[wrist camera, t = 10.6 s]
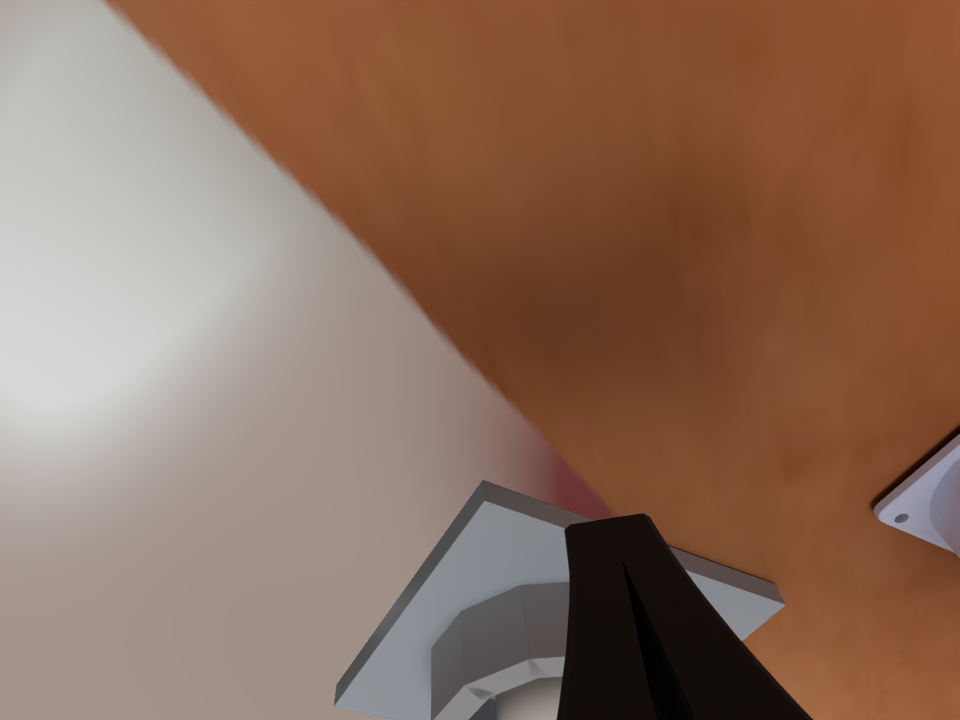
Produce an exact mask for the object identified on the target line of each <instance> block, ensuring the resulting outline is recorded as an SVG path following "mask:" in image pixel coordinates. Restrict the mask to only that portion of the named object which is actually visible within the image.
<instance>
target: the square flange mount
mask: <svg viewBox="0 0 960 720" xmlns="http://www.w3.org/2000/svg"><path fill="white" fill-rule="evenodd" d="M589 521H596V520H593V519H591V518H588V517H585V516H582V515H580V514H577V513H574V512H571V511H568V510H565V509H563V508H560V507H557V506H554V505H551V504H549V503H546V502H543V501H540V500H537V499H535V498H532V497H529V496H526V495H523V494H520V493H517V492H515V491H512V490H509V489H507V488H503V487H501V486H498V485H495V484H492V483H490V482H487V481H484V480H483V481H482V482H481V483H480V485H479V486H478V488H477V489H476V490H475V492H474V493H473V495H472V496H471V497H470V499H469V500H468V501H467V503H466V504H465V506H464V507H463V508H462V510H461V511H460V513H459V514H458V516H457V517H456V518H455V520H454V521H453V523H452V524H451V525H450V527H449V528H448V530H447V531H446V532H445V534H444V535H443V536H442V538H441V539H440V541H439V542H438V544H437V545H436V546H435V548H434V549H433V551H432V552H431V553H430V555H429V556H428V558H427V559H426V560H425V562H424V563H423V565H422V566H421V567H420V569H419V570H418V572H417V573H416V574H415V576H414V577H413V579H412V580H411V581H410V583H409V584H408V586H407V587H406V588H405V590H404V591H403V593H402V594H401V595H400V597H399V598H398V600H397V601H396V602H395V604H394V605H393V607H392V608H391V609H390V611H389V612H388V614H387V615H386V616H385V618H384V619H383V621H382V622H381V623H380V625H379V626H378V628H377V629H376V630H375V632H374V633H373V635H372V636H371V638H370V639H369V640H368V642H367V643H366V644H365V646H364V647H363V649H362V650H361V651H360V653H359V654H358V656H357V657H356V659H355V660H354V661H353V663H352V664H351V666H350V667H349V668H348V670H347V671H346V673H345V674H344V675H343V677H342V678H341V679H340V681H339V682H338V684H337V686H336V694H335V701H334V707H337V708H342V709H346V710H351V711H356V712H360V713H365V714H369V715H374V716H379V717H384V718H388V719H393V720H497V715H496V702H495V695H497V694H499V693H502V692H504V691H507V690H509V689H512V688H515V687H517V686H520V685H522V684H525V683H527V682H530V681H532V680H535V679H537V678H547V677H561V676H563V669H564V662H565V653H566V641H567V627H568V612H569V567H568V559H567V550H566V541H565V533H564V530H565V529H566V528H567V527H568V526H569V525H570V524H576V523H582V522H589ZM669 548H670V549H671V551H672V552H673V554H674V555H675V557H676V558H677V559H678V561H679V562H680V564H681V565H682V566H683V568H684V569H685V571H686V572H687V573H688V575H689V576H690V577H691V579H692V580H693V581H694V583H695V584H696V585H697V587H698V588H699V589H700V591H701V592H702V593H703V594H704V596H705V597H706V598H707V600H708V601H709V602H710V603H711V605H712V606H713V607H714V608H715V610H716V611H717V612H718V613H719V614H720V616H721V617H722V618H723V619H724V621H725V622H726V623H727V624H728V626H729V627H730V628H731V629H732V630H733V632H734V633H735V634H736V635H737V637H738V638H739V639H740V640H741V641H743V640H744V639H745V638H746V637H748V636H749V635H750V634H751V633H752V632H754V631H755V630H756V629H757V628H758V627H760V626H761V625H762V624H763V623H765V622H766V621H767V620H768V619H769V618H771V617H772V616H773V615H774V614H775V613H777V612H778V611H779V610H780V609H781V608H783V607H784V606H785V605H786V604H785V602H784V600H783V598H782V596H781V595H780V593H779V591H778V589H777V587H776V585H775V584H773V583H770V582H768V581H765V580H762V579H759V578H756V577H754V576H751V575H748V574H745V573H742V572H740V571H737V570H734V569H731V568H728V567H726V566H723V565H720V564H717V563H714V562H711V561H709V560H706V559H703V558H700V557H697V556H695V555H692V554H689V553H686V552H683V551H681V550H678V549H675V548H672V547H669Z"/></svg>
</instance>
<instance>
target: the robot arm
mask: <svg viewBox="0 0 960 720" xmlns="http://www.w3.org/2000/svg"><path fill="white" fill-rule="evenodd" d="M874 514H875V515H876V517H877V518H878V519H879V520H880V521H881V522H883V523H885V524H888V525H890V526H892V527H895V528H897V529H899V530H902V531H904V532H906V533H909V534H911V535H913V536H916V537H918V538H920V539H923V540H925V541H928V542H930V543H932V544H935V545H937V546H939V547H942V548H944V549H946V550H949V551H951V552H953V553H956V555H957V556H958V557H959V558H960V434H958V435H957V436H956V437H955V438H954V439H953V440H951V441H950V442H949V443H948V444H947V445H946V446H944V447H943V448H942V449H941V450H940V451H939V452H937V453H936V454H935V455H934V456H933V457H932V458H930V459H929V460H928V461H927V462H926V463H924V464H923V465H922V466H921V467H920V468H919V469H917V470H916V471H915V472H914V473H913V474H912V475H910V476H909V477H908V478H907V479H906V480H905V481H903V482H902V483H901V484H900V485H899V486H898V487H896V488H895V489H894V490H893V491H892V492H890V493H889V494H888V495H887V496H886V497H885V498H883V499H882V500H881V501H880V502H879V503H878V504H877V505H876V506H875V508H874ZM564 533H565V541H566V550H567V559H568V567H569V612H568V627H567V641H566V653H565V662H564V669H563V677H562V684H561V692H560V699H559V707H558V713H557V720H813V719H812V718H811V717H810V716H809V715H808V714H807V713H806V712H805V711H804V710H803V709H802V708H801V707H800V705H799V704H798V703H797V702H796V701H795V700H794V699H793V698H792V697H791V696H790V695H789V694H788V693H787V692H786V691H785V690H784V688H783V687H782V686H781V685H780V684H779V683H778V682H777V681H776V680H775V679H774V677H773V676H772V675H771V674H770V673H769V672H768V671H767V670H766V669H765V667H764V666H763V665H762V664H761V663H760V662H759V661H758V660H757V659H756V657H755V656H754V655H753V654H752V653H751V652H750V650H749V649H748V648H747V647H746V646H745V645H744V644H743V642H742V641H741V640H740V639H739V638H738V637H737V635H736V634H735V633H734V632H733V630H732V629H731V628H730V627H729V626H728V624H727V623H726V622H725V621H724V619H723V618H722V617H721V616H720V614H719V613H718V612H717V611H716V610H715V608H714V607H713V606H712V605H711V603H710V602H709V601H708V600H707V598H706V597H705V596H704V594H703V593H702V592H701V591H700V589H699V588H698V587H697V585H696V584H695V583H694V581H693V580H692V579H691V577H690V576H689V575H688V573H687V572H686V571H685V569H684V568H683V566H682V565H681V564H680V562H679V561H678V559H677V558H676V557H675V555H674V554H673V552H672V551H671V549H670V548H669V546H668V545H667V544H666V542H665V541H664V539H663V537H662V536H661V534H660V533H659V531H658V530H657V528H656V526H655V525H654V523H653V521H652V520H651V518H650V517H649V516H647V515H645V514H644V513H642V514H636V515H629V516H622V517H616V518H610V519H603V520H596V521H589V522H582V523H576V524H570V525H569V526H568V527H567V528H566V529H565V530H564Z"/></svg>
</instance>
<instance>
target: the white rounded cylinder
mask: <svg viewBox="0 0 960 720" xmlns="http://www.w3.org/2000/svg"><path fill="white" fill-rule="evenodd" d="M562 677H563V676H561V677H547V678H537V679H535V680H532V681H530V682H527V683H525V684H522V685H520V686H517V687H515V688H512V689H509V690H507V691H504V692H502V693H499V694H497V695H495V702H496V715H497V720H557V713H558V707H559V699H560V692H561V684H562Z"/></svg>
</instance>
